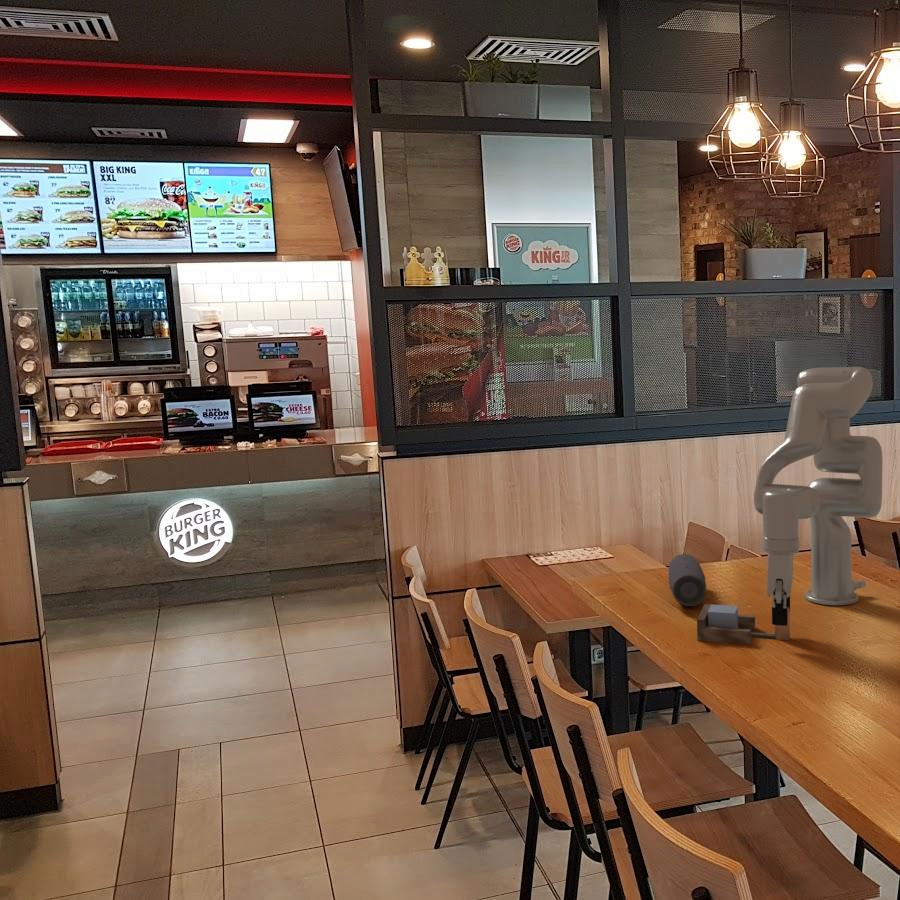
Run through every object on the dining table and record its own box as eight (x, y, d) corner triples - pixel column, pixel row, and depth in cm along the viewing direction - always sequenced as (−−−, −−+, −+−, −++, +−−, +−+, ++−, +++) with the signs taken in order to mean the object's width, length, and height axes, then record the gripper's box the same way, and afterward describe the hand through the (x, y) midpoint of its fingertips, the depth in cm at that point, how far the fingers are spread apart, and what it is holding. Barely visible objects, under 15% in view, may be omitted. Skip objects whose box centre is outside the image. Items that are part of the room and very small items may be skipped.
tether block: (790, 634, 205) (790, 605, 204) (789, 642, 199) (788, 612, 199) (712, 628, 212) (711, 600, 211) (708, 636, 207) (707, 607, 206)
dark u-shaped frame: (755, 627, 211) (755, 607, 210) (750, 644, 200) (749, 623, 199) (705, 624, 216) (704, 604, 215) (697, 640, 205) (696, 619, 204)
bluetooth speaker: (709, 611, 226) (708, 573, 224) (671, 611, 227) (670, 573, 226) (702, 586, 248) (701, 551, 247) (667, 586, 250) (666, 552, 248)
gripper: (766, 536, 209) (766, 607, 211) (759, 552, 194) (760, 628, 195) (800, 538, 206) (800, 610, 208) (796, 553, 191) (796, 631, 192)
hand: (781, 618), depth 202 cm, fingers open, 9 cm apart
